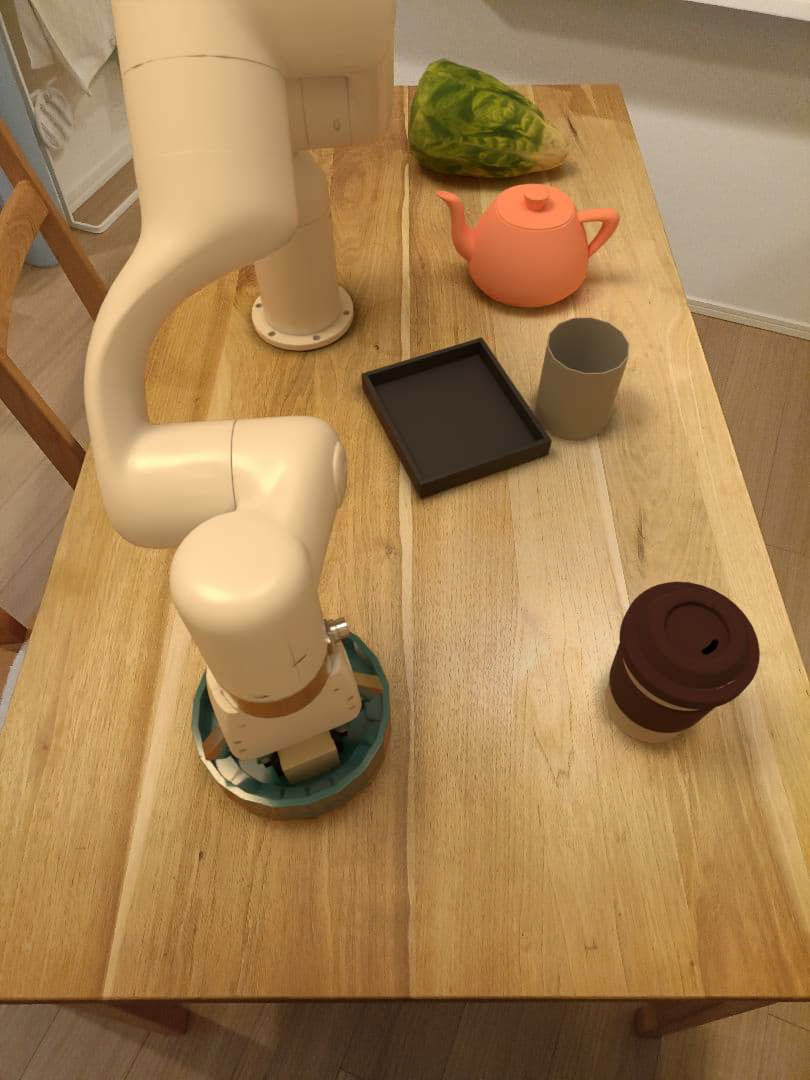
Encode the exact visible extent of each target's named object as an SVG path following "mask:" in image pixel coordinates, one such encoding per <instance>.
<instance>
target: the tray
mask: <svg viewBox="0 0 810 1080" xmlns="http://www.w3.org/2000/svg"><path fill="white" fill-rule="evenodd" d="M360 377H361V386H362V388H361V389H362V391H363V393H364V395H365V397H366V398H367V400H368V402H369V404H370V407H371V408H372V410H373V412H374V414H375V416H376V418H377V420H378V422H379V423H380V425H381V427H382V430H383V431H384V433H385V435H386V437H387V439H388V440H389V443H390V444H391V447H392V448H393V450H394V452H395V454H396V456H397V458H398V460H399V462H400V464H401V465H402V467H403V469H404V471H405V473H406V475H407V477H408V478H409V480H410V482H411V484H412V486H413V488H414V490H415V492H416V494H417V496H418V497H419V499H420V500H421V499H426V498H428V497H430V496H434V495H436V494H439V493H442V492H446V491H449V490H452V489H453V488H457V487H460V486H463V485H466V484H468V483H472V482H475V481H477V480H480V479H483V478H486V477H490V476H492V475H495V474H497V473H501V472H504V471H507V470H510V469H513V468H516V467H518V466H522V465H524V464H527V463H530V462H533V461H536V460H538V459H539V460H540V459H542V458H545V457H547V456H550V450H551V447H552V441H553V440H552V439H551V437H550V435H549V434H548V433H547V430H546V429H545V428H543V427H542V425H541V424H540V422H539V421H538V419H537V417H536V415H535V413H534V412H533V411H532V408H531V407H530V406H529V404H528V403H527V401H526V400H525V398H524V397H523V395H522V394H521V392H520V391H519V390H518V388H517V387H516V385H515V383H514V382H513V381H512V379H511V378H510V376H509V375H508V373H507V371H506V370H505V369H504V367H503V366H502V364H501V363H500V361H499V360H498V358H496V356H495V354H494V353H493V351H492V350H491V348H490V347H489V346H488V343H486V341H485V339H484V338H483V337H482V336H481V337H478V338H474V339H470V340H467V341H464V342H461V343H458V344H454V345H451V346H448V347H445V348H441V349H438V350H435V351H431V352H428V353H424V354H421V355H418V356H415V357H411V358H408V359H405V360H402V361H401V360H400V361H397V362H395V363H392V364H388V365H385V366H382V367H378V368H375V369H371V370H368V371H365V372H362V373H360Z"/></svg>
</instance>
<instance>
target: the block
mask: <svg viewBox="0 0 810 1080" xmlns="http://www.w3.org/2000/svg"><path fill="white" fill-rule="evenodd" d="M277 752H278V755H279V758H280V764H281V767H282V770H283V772H284V774H285V776H286V778H287V780H288V782H289V784H290V785H294V784H296V783H299V782H301V781H304V780H306V779H309V778H311V777H313V776H316V775H318V774H321V773H323V772H326V771H328V770H331V769H333V768H336V767H338V766H340V765H341V763H340V759H339V756H338V752H337V748H336V746H335V743H334V740H333V739H332V737H331V735H330V732H329V730H328V731H326V732H323V733H321V734H319V735H316V736H314V737H311V738H309V739H306V740H304V741H301V742H299V743H296V744H293V745H291V746H288V747H286V748H283V749H281V750H278V751H277Z"/></svg>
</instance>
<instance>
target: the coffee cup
mask: <svg viewBox="0 0 810 1080" xmlns="http://www.w3.org/2000/svg"><path fill="white" fill-rule="evenodd" d="M618 638H619V642H618V646H617V649H616V652H615V654H614V658H613V660H612V663H611V666H610V670H609V675H608V676H609V678H608V679H609V680H608V682H607V685H606V688H605V697H604V699H605V706H606V710H607V712H608V715H609V716H610V719H611V720H612V721H613V723H614V724H615V726H616V727H617V728H618V729H619V730H620V731H621V732H623V733H624V734H625V735H627V736H629V737H630V738H632V739H634V740H637V741H640V742H644V743H647V744H649V743H650V744H658V743H662V742H667V741H670V740H672V739H674V738H675V737H677V736H678V735H679V734H680V733H682V732H683V731H685V730H688V729H690V728H692V727H693V726H694V725H696V724H697V723H699V722H700V721H701V720H703V719H704V718H705V717H706V716H707V715H708V714H710V713H711V712H712V711H713V710H715V709H716V708H718V707H721V706H724V705H726V704H729V703H730V702H732V701H734V700H735V699H736V698H737V697H739V696H740V695H741V694H742V693H743V692H744V691H745V690H746V689H747V687H748V686H749V685H750V684H751V683H752V682H753V680H754V678H755V677H756V675H757V673H758V669H759V664H760V658H761V657H760V656H761V651H760V643H759V639H758V636H757V633H756V630H755V628H754V626H753V624H752V623H751V621H750V619H749V618H748V617H747V615H746V614H745V612H744V611H742V609H741V608H740V607H739V606H738V605H737V604H736V603H735V602H734V601H732V600H731V599H730V598H729V597H727V596H725V595H724V594H722V593H720V592H718V591H717V590H715V589H714V588H711V587H708V586H706V585H703V584H700V583H694V582H691V581H670V582H663V583H660V584H659V583H658V584H656V585H653V586H651V587H649V588H647V589H646V590H644V591H642V592H641V593H640V594H638V595H637V596H636V597H635V598H634V599H633V601H632V602H631V603H630V605H629V606H628V609H627V610H626V612H625V614H624V616H623V618H622V621H621V623H620V629H619V637H618Z"/></svg>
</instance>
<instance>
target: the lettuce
mask: <svg viewBox="0 0 810 1080" xmlns="http://www.w3.org/2000/svg"><path fill="white" fill-rule="evenodd" d="M407 129H408V130H407V140H408V147H409V153H410V154H411V155H412V157H413V158H414V159H415V161H416V162H417V163H418V164H419V165H420V166H422V167H425V168H427V169H428V170H430V171H432V172H434V173H440V174H444V175H448V176H449V175H450V176H467V177H474V178H485V179H501V178H502V179H503V178H512V177H519V176H523V175H527V174H530V173H536V172H542V171H549V170H552V169H555V168H557V167H560V166H562V165H564V163H565V162H566V160H567V158H568V157H569V155H570V141H569V140H568V138H567V137H566V136H565V134H564V133H563V132H562V131H561V130H560V129H559V128H558V127H557V126H556V125H555V124H554V123H553V122H552V121H551V120H549V119H548V117H547V116H546V115H545V114H544V113H543V112H542V110H541V109H540V108H539V107H538V106H537V105H536V104H535V103H533V101H531V100H530V99H529V98H528V97H526V96H524V95H523V94H521V93H520V92H518V91H517V90H515V89H514V88H511V87H510V86H508V85H507V84H506V83H503V82H502V81H501V80H499V79H497V77H495V76H493V75H491V74H489V73H486V72H484V71H482V70H479V69H477V68H472V67H469V66H466V65H462V64H459V63H456V62H454V61H451V60H449V59H447V58H441V59H438V60H435V61H433V62H431V63H428V65H427V67H426V68H425V70H424V72H423V73H422V75H421V77H420V78H419V81H418V83H417V87H416V90H415V92H414V96H413V99H412V102H411V104H410V110H409V119H408V128H407Z"/></svg>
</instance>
